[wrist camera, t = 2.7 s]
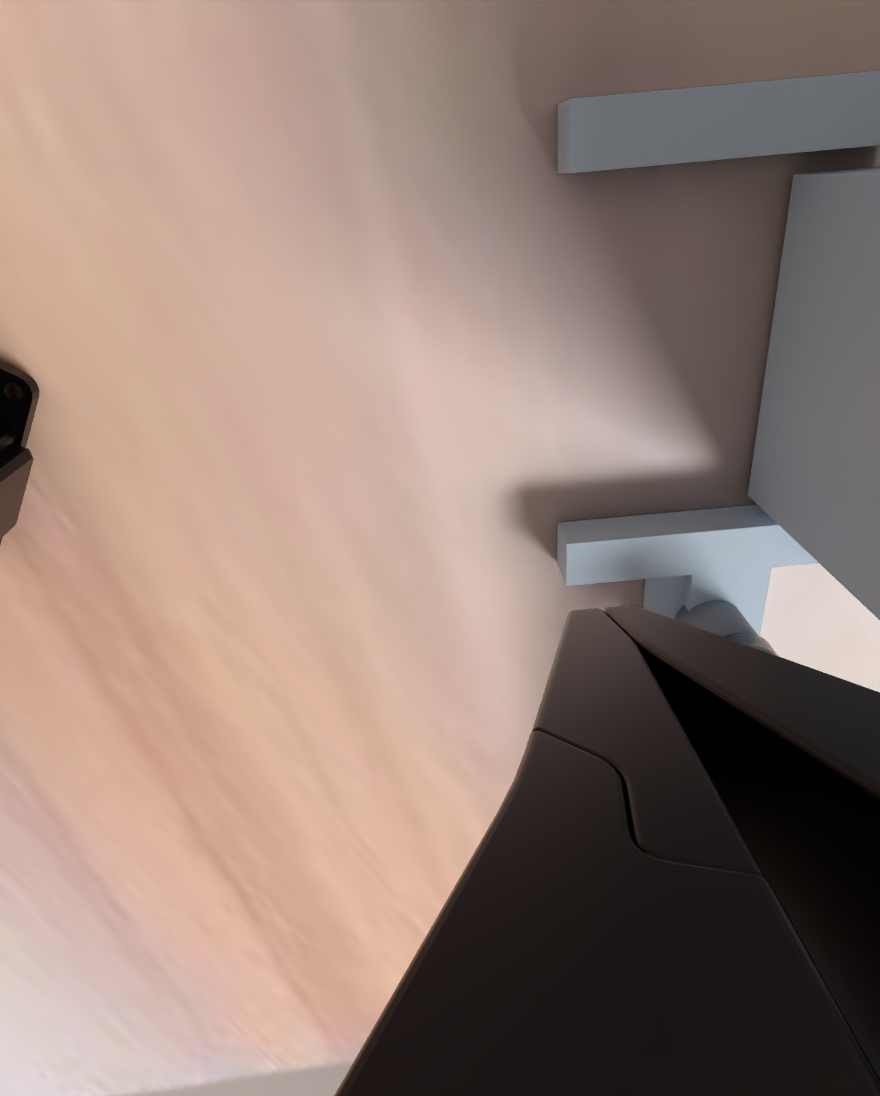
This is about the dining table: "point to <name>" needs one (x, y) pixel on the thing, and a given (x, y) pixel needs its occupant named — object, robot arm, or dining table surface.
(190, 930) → the dining table surface
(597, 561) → the vise bed
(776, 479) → the block
